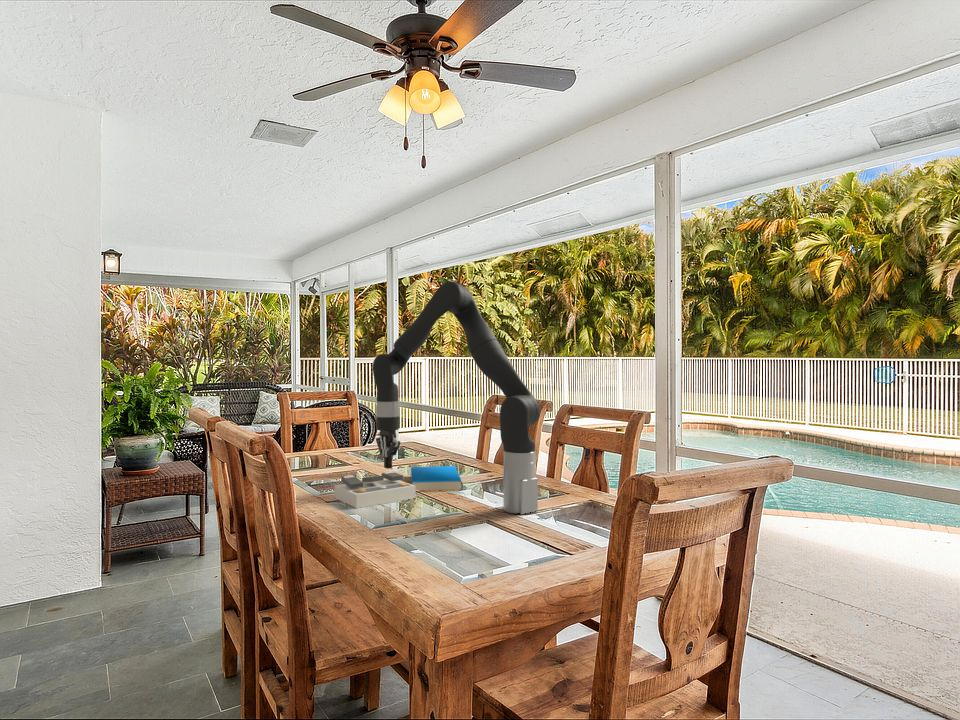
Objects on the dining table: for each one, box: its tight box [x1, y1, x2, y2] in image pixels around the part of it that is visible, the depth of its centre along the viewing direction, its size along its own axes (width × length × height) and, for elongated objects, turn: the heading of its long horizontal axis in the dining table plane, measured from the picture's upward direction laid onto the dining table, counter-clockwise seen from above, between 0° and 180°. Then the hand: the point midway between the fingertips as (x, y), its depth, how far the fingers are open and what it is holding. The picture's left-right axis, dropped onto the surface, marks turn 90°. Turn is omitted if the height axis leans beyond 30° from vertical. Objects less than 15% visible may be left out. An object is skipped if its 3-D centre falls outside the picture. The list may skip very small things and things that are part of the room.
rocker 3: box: [381, 471, 404, 481], centre depth 192 cm, size 7×4×2 cm, turn 37°
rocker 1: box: [341, 474, 363, 489], centre depth 184 cm, size 7×4×2 cm, turn 37°
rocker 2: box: [361, 475, 384, 482], centre depth 188 cm, size 7×4×2 cm, turn 37°
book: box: [410, 465, 464, 492], centre depth 209 cm, size 17×4×25 cm
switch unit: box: [333, 478, 417, 509], centre depth 187 cm, size 16×20×4 cm
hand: (388, 468), depth 194 cm, fingers closed
